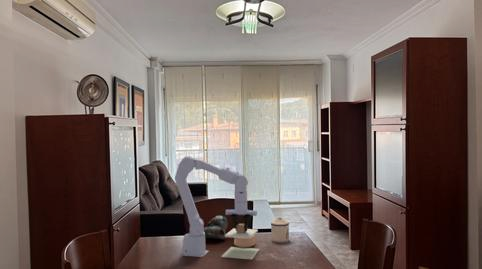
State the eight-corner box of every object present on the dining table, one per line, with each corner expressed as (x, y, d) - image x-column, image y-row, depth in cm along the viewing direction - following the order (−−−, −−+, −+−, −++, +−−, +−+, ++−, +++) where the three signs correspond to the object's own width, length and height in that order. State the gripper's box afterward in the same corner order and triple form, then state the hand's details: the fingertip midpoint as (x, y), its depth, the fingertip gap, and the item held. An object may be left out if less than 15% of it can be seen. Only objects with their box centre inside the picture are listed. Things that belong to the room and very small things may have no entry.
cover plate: (224, 237, 161) (224, 227, 161) (233, 230, 173) (233, 221, 173) (250, 238, 158) (250, 228, 158) (257, 231, 169) (257, 222, 169)
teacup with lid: (290, 242, 176) (289, 219, 176) (271, 243, 176) (271, 219, 176) (287, 235, 188) (287, 213, 188) (270, 236, 188) (269, 213, 188)
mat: (221, 257, 157) (220, 256, 157) (231, 247, 171) (231, 246, 171) (251, 260, 153) (251, 259, 153) (259, 249, 167) (259, 248, 167)
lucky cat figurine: (196, 237, 188) (203, 211, 194) (217, 244, 192) (223, 218, 198) (207, 236, 175) (214, 208, 181) (229, 243, 179) (235, 215, 185)
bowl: (231, 247, 172) (231, 237, 172) (238, 240, 181) (237, 231, 181) (252, 248, 169) (251, 238, 169) (257, 242, 178) (257, 233, 178)
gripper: (258, 199, 167) (259, 229, 167) (228, 198, 171) (229, 227, 171) (254, 202, 160) (255, 233, 160) (223, 201, 164) (224, 231, 164)
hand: (241, 230), depth 165 cm, fingers closed on cover plate, 3 cm apart
